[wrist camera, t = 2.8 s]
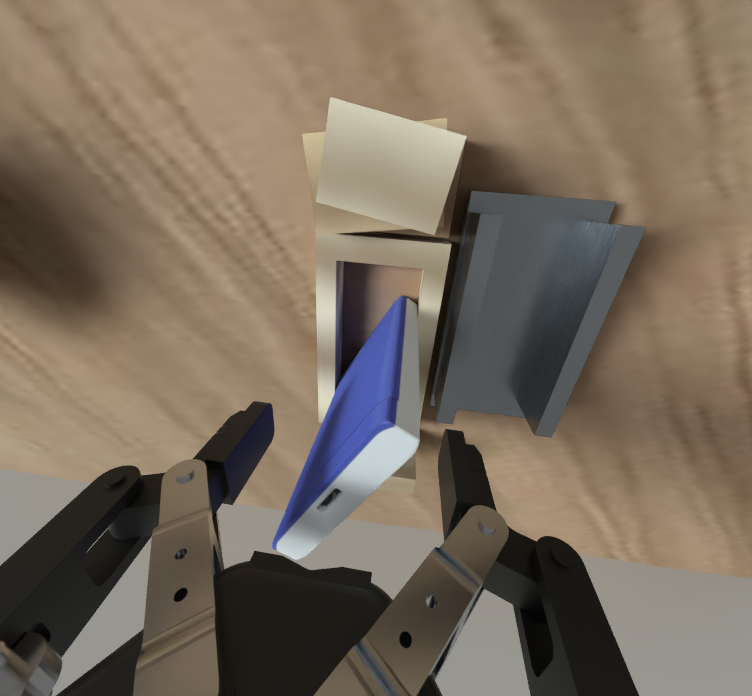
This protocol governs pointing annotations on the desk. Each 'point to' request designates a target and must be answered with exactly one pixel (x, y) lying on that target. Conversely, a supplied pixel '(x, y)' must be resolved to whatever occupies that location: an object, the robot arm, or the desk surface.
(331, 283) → the frame
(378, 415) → the hard drive
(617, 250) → the stand
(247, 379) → the desk surface
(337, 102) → the offcut stack
